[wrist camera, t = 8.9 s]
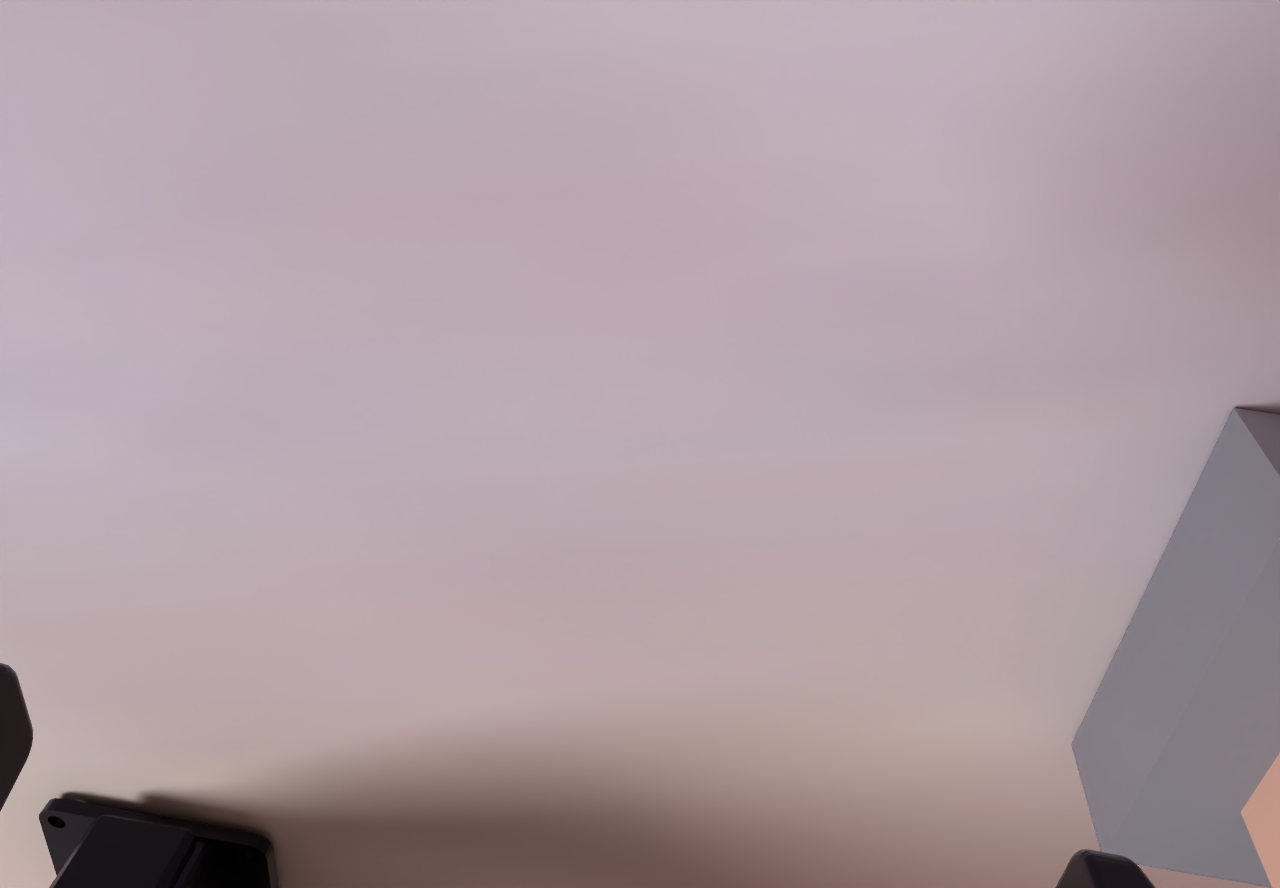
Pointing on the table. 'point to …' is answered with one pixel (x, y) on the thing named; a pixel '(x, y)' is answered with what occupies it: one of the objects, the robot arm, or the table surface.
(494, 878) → the table surface
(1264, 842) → the cube
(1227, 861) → the plinth
